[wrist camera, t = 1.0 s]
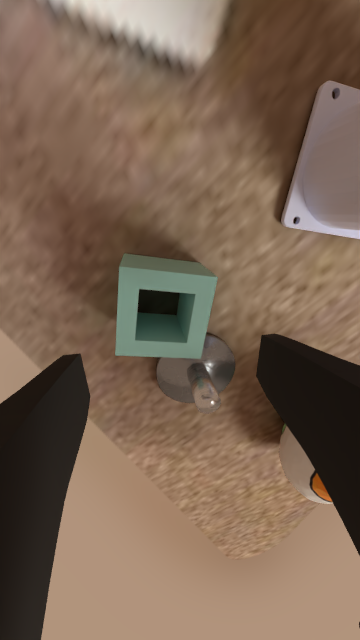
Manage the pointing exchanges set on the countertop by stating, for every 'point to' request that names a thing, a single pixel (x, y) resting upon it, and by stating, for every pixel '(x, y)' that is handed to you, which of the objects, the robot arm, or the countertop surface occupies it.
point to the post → (198, 375)
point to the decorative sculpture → (301, 469)
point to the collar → (160, 329)
